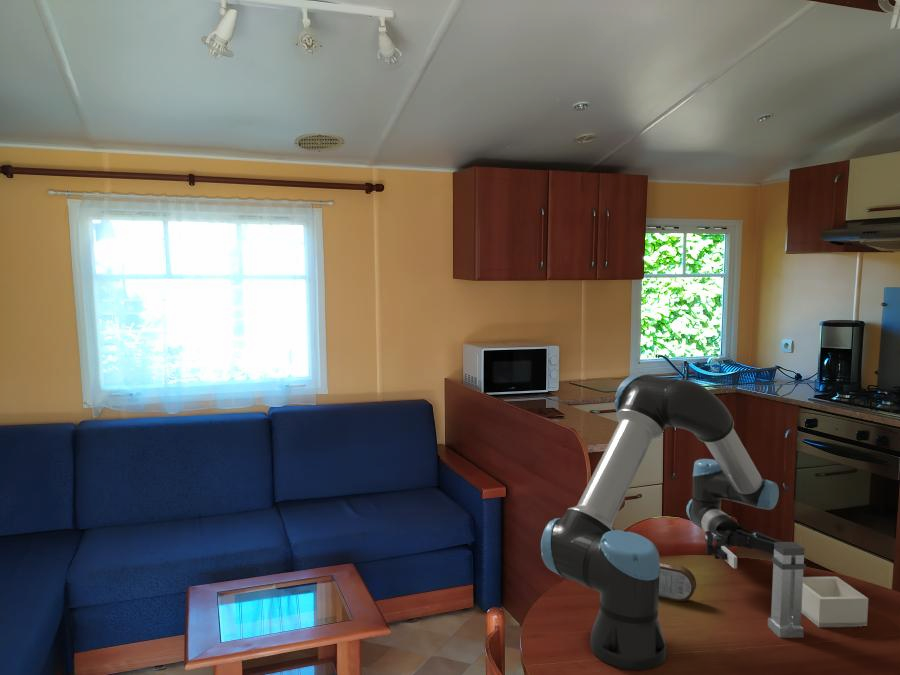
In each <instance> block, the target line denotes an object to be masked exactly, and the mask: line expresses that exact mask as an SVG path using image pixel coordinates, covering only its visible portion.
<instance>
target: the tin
mask: <svg viewBox="0 0 900 675" xmlns="http://www.w3.org/2000/svg"><path fill="white" fill-rule="evenodd" d="M659 562H660V576H659V598H661V597H662V599H665V598H666V599H667V600H670V601H675V602H685V601H688V600H689V599H690V598H692V597H693V595H694V593H695V590H696V588H697V580H696V578H695V575H694V574H693V573H692V571H691V570H690V569H689V568H687V567H685V566H683V565H680V564H676V563H670V562H667V561H666V562H665V561H661V560H659Z"/></svg>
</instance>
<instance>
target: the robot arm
mask: <svg viewBox="0 0 900 675" xmlns="http://www.w3.org/2000/svg"><path fill="white" fill-rule="evenodd" d="M614 397H615V398H616V399H615V400H614V409H615V411H616V414H615V417H616V419H617V422H618V424H617V426H616V428H615V430H614V432H613V434H612V436H611V437H610V440H609V442H608V444H607V445H606V448H605V450H604V452H603V453H602V456H601V458H600V459H599V461H598V464H597V465H596V467H595V469H594V471H593V473H592V475H591V478H590V479H589V481H588V483H587V485H586V487H585V489H584V491H583V493H582V495H581V497H580V499H579V501H578V502H577V505H576V506H573V507H568V508H567V509H566V511H565V513H564V514H563V516H562V518H560V517H559V518H558V517H557V518H554V519H552V520H549V522H548V523H547V525H545V528H544V530H543V532H542V536H541V540H540V551H541V558H542V561H543V563H544V565H545V567H547V569H549V571H552V572H554V574H557V575H559V576H560V577H561V578H563V579H564V578H565V579H568V580H571V581H572V582H576V583H578V584H580V585H582V586H585V587H586V588H589V589H590V590H591V589H592V590H594V591H596V592H598V593H599V609H598V613H597V616H596V618H595V620H594V624H593V626H592V629H591V631H590V638H589V639H590V642H589V643H590V649H591V651H592V653H593V654H594V655H595V656H596V657H597V658H598V659H600V660H601V661H603V662H604V663H606V664H608V665H611V666H612V667H616V668H620V669H623V670H629V671H646V670H647V671H648V670H653V669H655V668H658V667H659V666H661V665H662V664H663V663H664V662H665V660H666V659H667V658H666V657H667V643H666V640H665V637H664V634H663V630H662V627H661V623H660V620H659V599H660V597H659V576H660V562H659V561H660V554H659V553H660V552H659V550H658V549H657V547H656V545H655V544H654V543H653V542H652V541H651V540H650V539H648V538H647V537H645V536H643V535H640V534H639V533H635V532H633V531H624V530H619V529H618V530H617V529H615V530H614V529H613V526H612V525H613V523H614V521H615V518H616V516H617V514H618V512H619V510H620V508H621V507H622V503H623V502H624V500H625V498H626V495H627V493H628V491H629V488H630V487H631V485H632V483H633V481H634V478H636V474H637V472H638V470H639V469H640V466H641V464H642V462H643V459H644V458H645V456H646V453H647V451H648V449H649V448H650V445H651V443H652V441H653V440H655V439H658V438H659V439H660V438H661V437H662V436H663V433H664V431H665V430H666V427H670V428H676V429H683V430H686V431H688V432H690V433H692V434H693V435H694V436H695V437H696V439H698V440H699V441H701V442H703V443H704V444H705V445H706V447H707V450H709V452H710V453H711V455H712V457H713V458H714V459H713V458H712V459H710V458H699V459H697V460H695V461H694V464H693V472H692V498H691V499H690V500H689V501H688V503H687V505H686V510H685V511H686V516H687V517H688V518H689V520H690V521H691V522H692V524H694V525H695V526H697V527H698V528H699V529H701V530H702V531H703V532H704V533H705V535H704V536H705V542H706V548H705V550H706V552H705V553H706V555H707V556H711V555H713V554H714V559H715V560H720V559H721V560H724V561H725V562H726V563H727V564H729V566H730V567H731V568H733V569H737V568H738V556H736V555H735V554H734V553H733V552H732V551H731V550H729V548H732V547H739V548H740V547H744V548H748V549H749V550H751V549H752V550H753V548H754V549H757V550H760V551H763V552H767V553H770V554H774V542H784V541H783V540H780V539H778V538H774V537H771V536H769V535H766V534H764V533H762V532H759V530H752V533H750V532H747V531H744V530H743V529H742V526H741V525H740V523H739V522H737V521H736V520H735V519H733V518H732V517H731V516H730V515H729V514H727V513H725V512H724V511H723V510H722V509H721V506H722V505H721V504H722V500H725V501H731V502H735V503H738V504H741V505H746V506H748V507H749V506H750V507H753V508H756V509H762V510H768V511H769V510H773V509H775V507H776V506H777V503H778V500H779V498H780V497H779V496H780V491H779V486H778V484H777V483H776V482H774V481H771V480H768V479H764V478H763V477H762V476H761V474H760V472H759V471H758V469H757V467H756V465H755V463H754V462H753V460H752V459H751V456H750V454H749V453H748V451H747V449H746V448H745V446H744V445H743V443H742V441H741V439H740V437H739V436H738V433H737V432H736V430H735V429H734V426H735V422H734V421H735V420H734V418H733V416H732V414H731V412H730V411H729V409H728V408H727V406H726V405H725V404H724V402H722V401H721V400H720V399H719V397H717V396H716V395H715V394H714V393H712V391H710V390H709V389H708V388H706V387H704V386H703V385H702V384H700V383H697V382H695V381H693V380H689V379H683V378H682V379H681V378H680V379H679V378H671V377H670V378H669V377H661V376H660V377H659V376H654V375H652V374H634V375H633V374H632V375H629V376H628V377H626V378H625V379H624V380H622V382H621V383H620V384H619V385H618V388H617V390H616V393H615V395H614ZM714 542H716V543H715V545H714V546H713V544H714Z"/></svg>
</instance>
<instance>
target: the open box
mask: <svg viewBox="0 0 900 675" xmlns="http://www.w3.org/2000/svg"><path fill="white" fill-rule="evenodd" d="M868 611H869V597H867V596H865V595H864V594H862V592H860V591H858V590H857V589H856V588H854V587H853V586H851V585H850V584H848V583H847V582H846V581H844V580H842V579H841V578H840V577H838V576H803V589H802V610H801V615H803V616H805V617H806V618H807V619H808V620H809V621H811V622H812V623H813V624H814V625H815V626H816V627H817V628H855V627H856V628H858V626H859V627H860V628H861V627H862V626H868V614H869V613H868Z"/></svg>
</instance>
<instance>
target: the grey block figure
mask: <svg viewBox="0 0 900 675" xmlns="http://www.w3.org/2000/svg"><path fill="white" fill-rule="evenodd" d="M770 559H771V560H770V562H771V563H772V564H773V565H772V566H773V567H772V584H771V585H772V586H771V589H772V590H771V611H770V617H767V627H768V628H769V629H770V630H771V631H772V632H773V633H774V634H775V635H776V636H777V637H778V638H779V639H782V638H783V639H787V638H788V639H790V638H791V639H792V638H804V632H805V631H804V627H803V626H802V625H801V624H802V613H801V610H802V589H803V577H804V570H806V569H807V567H806V566H807V564H805V563H804V562H805V548H804V547H803V546H802V545H800V544H799V543H797V542H796V541H783V542H774V553H773V556H772V557H771V558H770Z"/></svg>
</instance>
